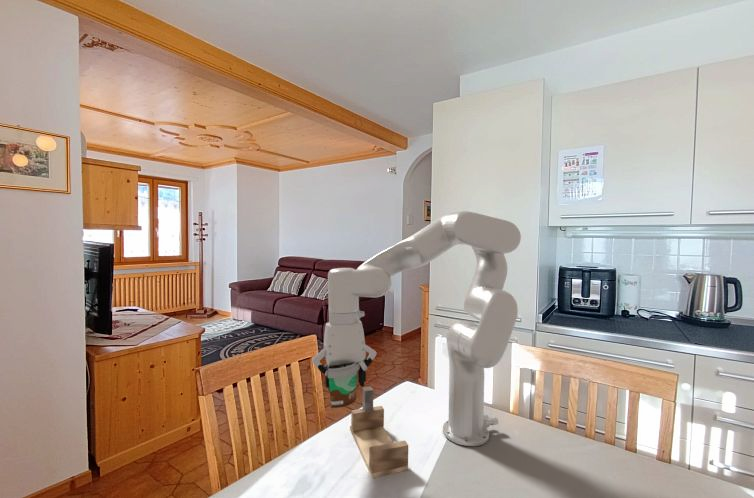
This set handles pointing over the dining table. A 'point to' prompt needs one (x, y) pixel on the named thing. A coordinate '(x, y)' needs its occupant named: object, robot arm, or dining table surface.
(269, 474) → the dining table surface
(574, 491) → the dining table surface
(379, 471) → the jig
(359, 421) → the block
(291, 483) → the dining table surface
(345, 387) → the food container
